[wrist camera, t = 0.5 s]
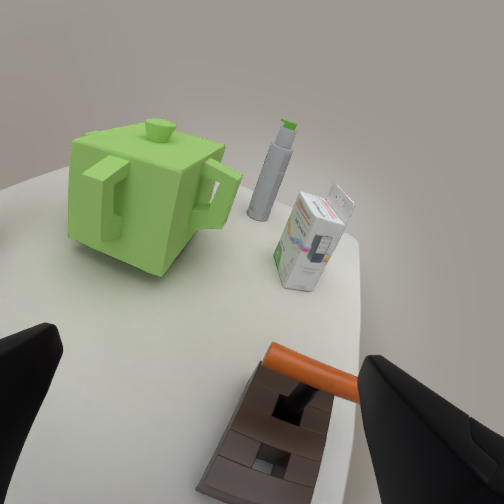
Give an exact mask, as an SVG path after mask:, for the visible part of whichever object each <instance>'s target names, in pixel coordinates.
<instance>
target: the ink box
mask: <svg viewBox="0 0 504 504" xmlns="http://www.w3.org/2000/svg"><path fill="white" fill-rule="evenodd" d="M337 196H339V197H342V201H343V202H344V206H343V207H342V206H341V204H340V203H339V202H338V201H337V200H336V198H337ZM354 208H355V203H354V202H353V201H352V200H351V199H350V198H349V196H347V194H345V192H344V191H343V190H342V189H341V188H340V187H339V186H338V185H337V184H336V183H335V182H333V184H332V186H331V189H330V192H329V195H328V197H327V199H323V198H320V197H317V196H314V195H311V194H308V193H305V192H302V191H300V192H299V195H298V197H297V200H296V202H295V205H294V207H293V210H292V212H291V215H290V217H289V219H288V222H287V224H286V227H285V229H284V231H283V234H282V236H281V238H280V241H279V243H278V245H277V248H276V250H275V252H274V258H275V261H276V264H277V268H278V271H279V274H280V278H281V281H282V285H283V287H284V288H289V289H297V290H305V291H312V290H313V288H314V287H315V285H316V283H317V281H318V279H319V277H320V276H321V274H322V272H323V270H324V268H325V266H326V264H327V263H328V261H329V259H330V257H331V255H332V253H333V251H334V249H335V247H336V245H337V244H338V242H339V240H340V238H341V236H342V234H343V232H344V230H345V228H346V225H347V223H348V221H349V218H350V217H351V214H352V212H353V210H354Z"/></svg>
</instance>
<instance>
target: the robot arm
mask: <svg viewBox="0 0 504 504" xmlns="http://www.w3.org/2000/svg"><path fill="white" fill-rule="evenodd" d="M62 354H63V345H62V342H61V339H60V335H59V332H58V329H57V327H56V326H55V325H54V324H50V323H42V324H39V325H36V326H34V327H31V328H28V329H26V330H23V331H20V332H18V333H15V334H13V335H10V336H7V337H5V338H2V339H0V504H4V501H5V498H6V494H7V490H8V487H9V484H10V481H11V478H12V475H13V472H14V469H15V467H16V464H17V461H18V458H19V456H20V453H21V451H22V448H23V446H24V443H25V441H26V438H27V436H28V433H29V431H30V429H31V426H32V424H33V422H34V420H35V417H36V415H37V413H38V411H39V409H40V407H41V405H42V402H43V400H44V398H45V396H46V394H47V392H48V389H49V387H50V384H51V382H52V379H53V376H54V374H55V371H56V369H57V366H58V364H59V361H60V359H61V357H62ZM357 386H358V393H359V399H360V405H361V412H362V419H363V426H364V431H365V435H366V439H367V443H368V447H369V451H370V455H371V459H372V463H373V467H374V472H375V476H376V480H377V485H378V489H379V494H380V498H381V503H382V504H504V437H502V436H501V435H499V434H497V433H495V432H493V431H492V430H490V429H489V428H487V427H486V426H484V425H483V424H481V423H479V422H478V421H476V420H475V419H474V418H472V417H469V415H468V414H466V413H465V412H463V411H462V410H460V409H459V408H457V407H455V406H454V405H453V404H451V403H450V402H448V401H447V400H445V399H444V398H442V397H441V396H439V395H438V394H437V393H435V392H434V391H432V390H430V389H429V388H428V387H426V386H425V385H423V384H422V383H420V382H419V381H418V380H416V379H415V378H413V377H412V376H410V375H409V374H407V373H406V372H404V371H403V370H402V369H400V368H399V367H397V366H396V365H394V364H393V363H391V362H390V361H388V360H387V359H386V358H384V357H383V356H381V355H368V356H366V357H365V359H364V362H363V364H362V367H361V370H360V373H359V375H358V379H357Z"/></svg>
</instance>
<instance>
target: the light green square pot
mask: <svg viewBox="0 0 504 504" xmlns="http://www.w3.org/2000/svg"><path fill="white" fill-rule="evenodd" d="M176 126H177V125H176V124H175V123H173V122H171V121H168V120H163V119H154V118H152V119H147V120H145V123H144V122H143V123H137V124H132V125H127V126H123V127H118V128H114V129H110V130H105V131H92V132H89V133H85V134H82V137H80V138H77V139H74V140H73V141H72V145H71V156H70V169H69V187H68V237H70V238H72V239H74V240H76V241H78V242H81V243H83V244H85V245H87V246H89V247H90V248H91V249H93V250H96V251H100V252H103V253H105V254H107V255H109V256H112V257H114V258H116V259H119V260H121V261H123V262H126V263H128V264H130V265H133V266H135V267H137V268H140V269H142V270H143V271H144V272H146V273H148V274H154V275H156V276H159V277H162V276H163V275H164V273H165V272H166V271H167V269H168V268H169V267H170V265H171V264H172V263H173V261H174V260H175V259H176V257H177V256H178V255H179V253H180V252H181V251H182V249H183V248H184V247H185V245H186V244H187V243H188V241H189V240H190V239H191V238H192V236H193V235H194V234H195V232H196V231H197V230H198V229H222V227H223V226H224V224H225V222H226V221H227V218H228V215H229V213H230V210H231V207H232V204H233V201H234V198H235V196H236V193H237V190H238V187H239V185H240V182H241V179H242V176H243V175H242V174H240V173H239V172H237V171H235V170H233V169H231V168H229V167H227V166H226V165H223V164H222V163H221V160H222V157H223V154H224V150H225V145H223V144H220V143H217V142H213V141H210V140H207V139H203V138H200V137H197V136H193V135H190V134H186V133H183V132H179V131H175V128H176ZM215 181H217V182H219V183H220V184H219V186H218V189H217V191H216V193H215V195H214V198H213V200H212V202H211V203H209V202H210V199H211V195H212V191H213V188H214V184H215Z"/></svg>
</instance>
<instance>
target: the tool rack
mask: <svg viewBox="0 0 504 504" xmlns="http://www.w3.org/2000/svg"><path fill="white" fill-rule="evenodd" d="M299 383H300V382H299V381H297V380H294V379H292V378H290V377H287V376H285V375H282V374H280V373H278V372H276V371H273V370H271V369H269V368H267V367H264V366H262V361H260V362H259V364H258V366H257V367H256V369H255V371H254V372H253V374H252V376H251V377H250V379H249V381H248V383H247V385H246V388H245V390H244V392H243V394H242V396H241V398H240V400H239V403H238V405H237V407H236V409H235V411H234V413H233V415H232V417H231V420H230V422H229V424H228V426H227V428H226V430H225V432H224V434H223V436H222V438H221V440H220V443H219V444H218V446H217V448H216V450H215V452H214V454H213V456H212V458H211V460H210V462H209V465H208V466H207V468H206V470H205V472H204V474H203V476H202V478H201V480H200V482H199V484H198V485H197V487H196V489H195V490H196V491H198V492H200V493H203V494H205V495H208V496H210V497H212V498H215V499H217V500H220V501H222V502H225V503H228V504H310V502H311V499H312V495H313V492H314V488H315V484H316V481H317V477H318V473H319V469H320V465H321V460H322V456H323V451H324V447H325V442H326V438H327V432H328V427H329V422H330V416H331V411H332V406H333V400H334V395H332V394H329V393H327V392H324V391H322V390H321V391H320V392H319V393H318V394H317V395H316V396H315V397H314V398H313V399H312V400H311V402H310V403H309V404H308V405H307V406H306V407H305V408H304V409H303V410H302V411H301V412H300V413H299V414H298V415H296V416H295V417H294V418H293V419H292V420H291V421H290V422H289V423H288V422H285V421H283V420H280V419H278V418H275V417H273V416H272V414H273V413H274V412H275V411H276V410H277V409H278V407H279V406H280V405H281V404H282V403H283V402H284V401H285V399H286V398H287V397H288V396H289V395H290V394H291V392H292V391H293V390H294V389H295V388H296V386H297V385H298V384H299ZM256 458H258V459H261V460H264V461H266V462H269V463H272V464H275V465H274V467H273V470H272V472H271V475H268V474H265V473H262V472H259V471H256V470H254V469H251V468H252V466H253V464H254V461H255V459H256Z"/></svg>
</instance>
